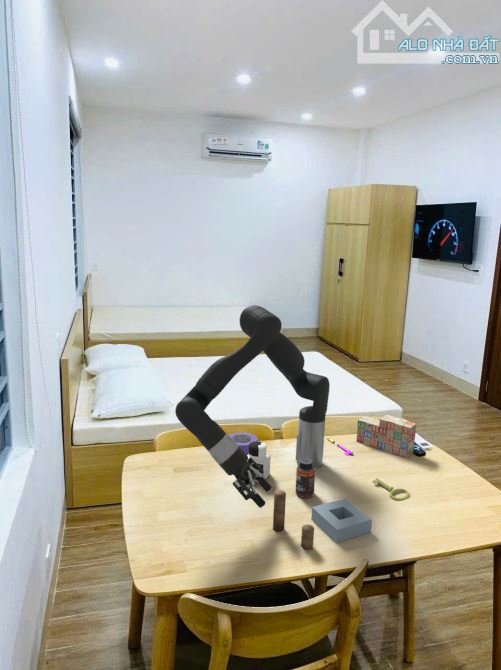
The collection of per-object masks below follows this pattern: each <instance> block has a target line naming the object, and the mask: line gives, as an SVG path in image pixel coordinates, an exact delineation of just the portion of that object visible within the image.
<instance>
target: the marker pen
mask: <svg viewBox="0 0 501 670" xmlns="http://www.w3.org/2000/svg"><path fill="white" fill-rule="evenodd" d="M326 440H327V441H328V442H330V443H332V444H335V445H336V446H337V447H338V448H340V449H341V450H343V451H344V455H345V456H353V455H354V452H353V451H351V450H349V449H347V448H345V447H344V446H342V445H341V444H337V443H336V441H335V440H333V439H331V438H329V437H326Z"/></svg>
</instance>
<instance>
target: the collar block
mask: <svg viewBox="0 0 501 670" xmlns="http://www.w3.org/2000/svg"><path fill="white" fill-rule="evenodd" d="M311 521H313V523H314V524H315V525H316V526H317V527H319V528H320V529H321V530H322V532H324V533H325V534H326V535H327V536H328V537H329V538H330V539H331V540H332V541H333V542H334V543H335V544H337V543H341V542H344V541H346V540H347V541H348V540H349V539H353V538H355V537H356V538H357V537H361V536H363V535H366V534H369V533H372V524H373V519H372V518H371V517H370V516H369V515H367V514H366V513H365V512H364V511H362V510H361V509H360V508H359V507H358V506H356V505H355V504H353V503H352V502H351V501H350V500H349V499H348V498H345V497H344V498H341V499H336V500H334V501H329V502H327V503H322V504H319V505H315V506H312V507H311Z"/></svg>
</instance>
